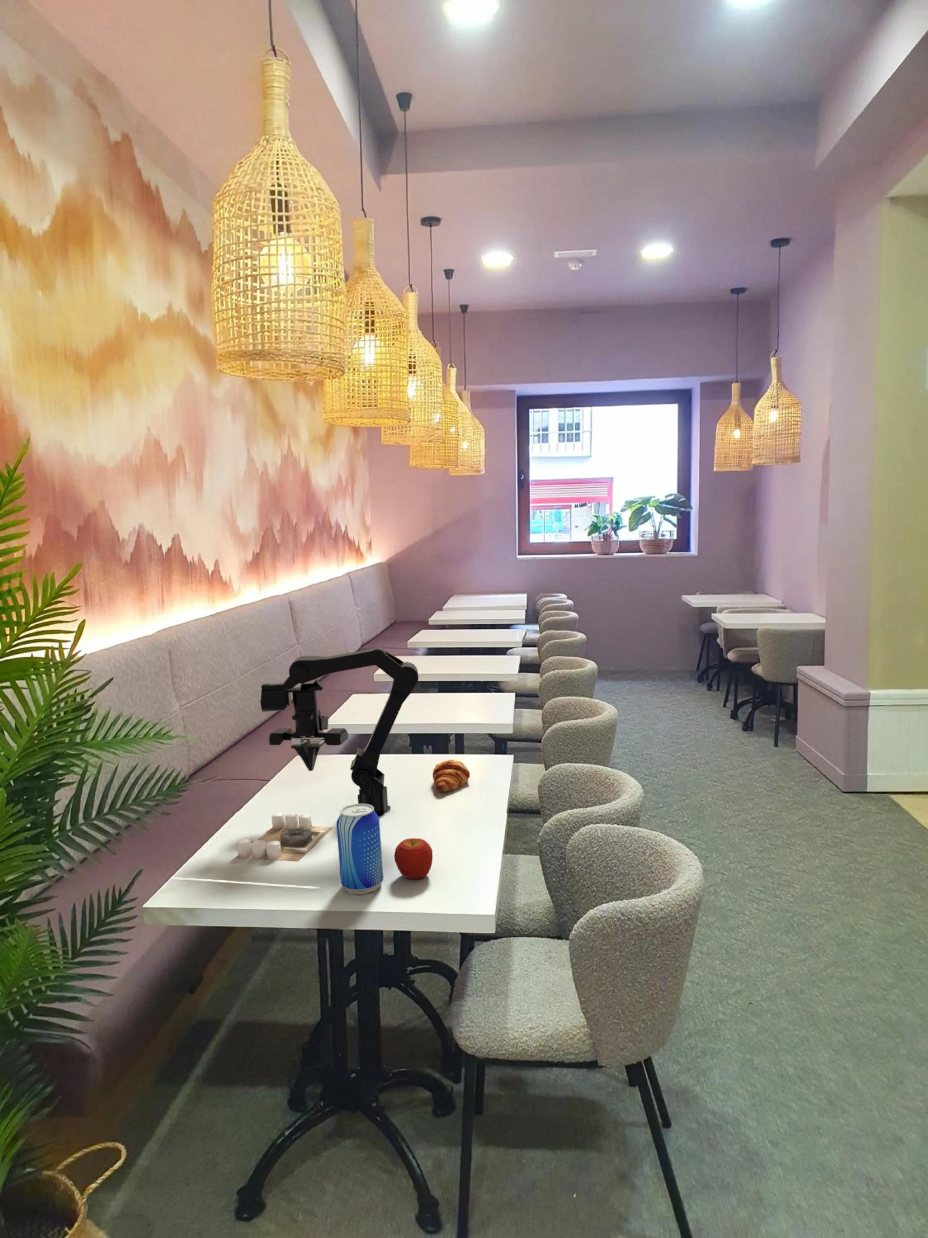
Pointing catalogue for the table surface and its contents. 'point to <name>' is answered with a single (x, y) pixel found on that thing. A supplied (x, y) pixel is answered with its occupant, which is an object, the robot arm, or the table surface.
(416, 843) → the apple
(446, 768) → the croissant
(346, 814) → the beer can
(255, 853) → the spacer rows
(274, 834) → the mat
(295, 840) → the nut
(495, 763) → the table surface
